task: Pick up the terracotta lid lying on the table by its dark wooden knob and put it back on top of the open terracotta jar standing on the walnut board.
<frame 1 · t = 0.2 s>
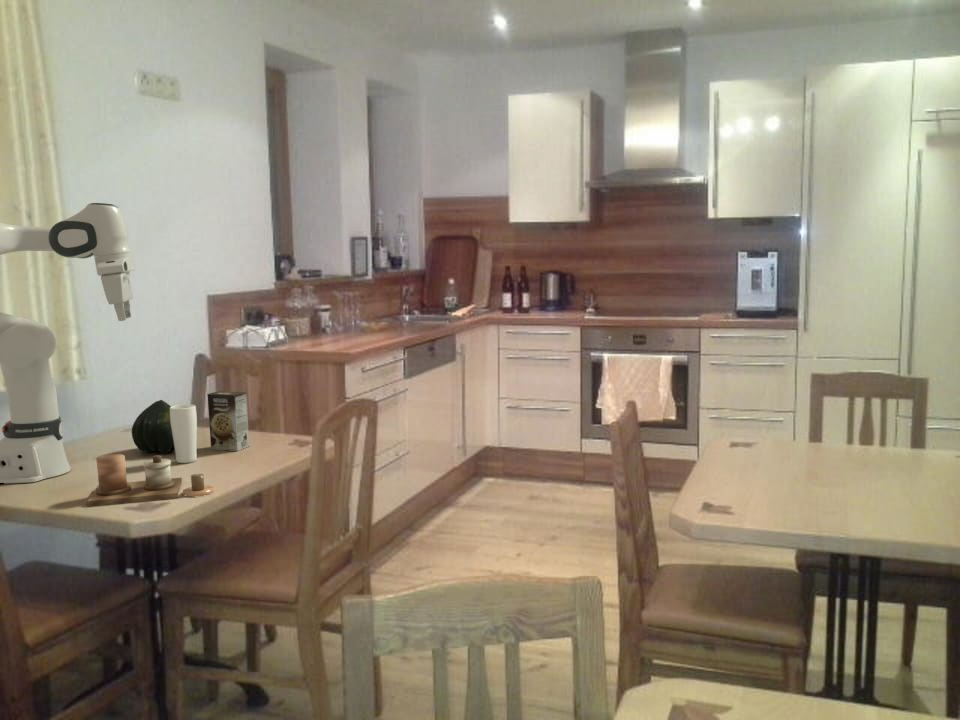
hand: (125, 319, 224), 39 cm above the table, tool pointing down, fingers open, 8 cm apart
drinking glass: (186, 462, 232), on the table
jar lid: (198, 493, 202), on the table
squash: (161, 451, 245), on the table
holder: (136, 493, 202), on the table
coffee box: (230, 448, 246), on the table
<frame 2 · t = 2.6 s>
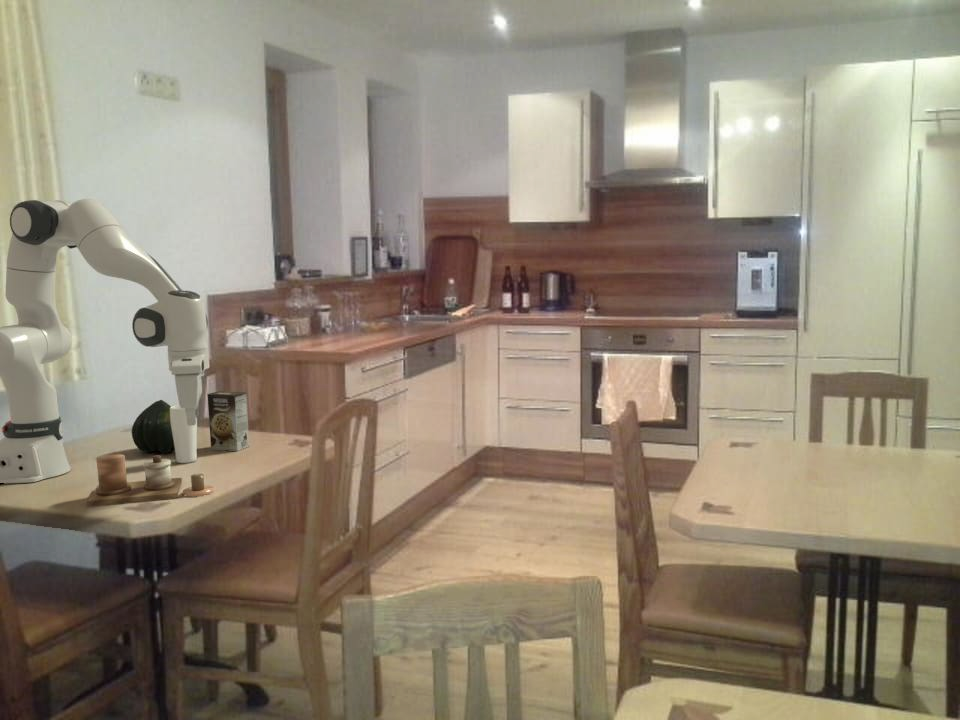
hand: (193, 421, 199), 17 cm above the table, tool pointing down, fingers open, 8 cm apart
nothing on the table moved.
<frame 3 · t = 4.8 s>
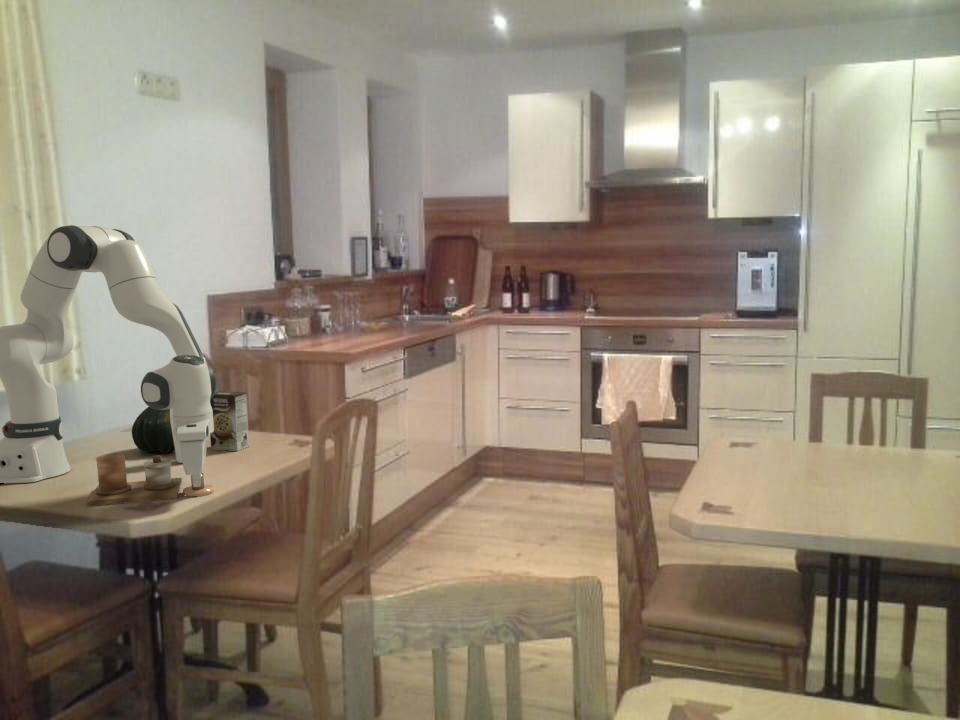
hand: (197, 483, 201), 2 cm above the table, tool pointing down, fingers closed on jar lid, 3 cm apart
jar lid: (198, 492, 202), on the table, touching gripper
everything else where it was.
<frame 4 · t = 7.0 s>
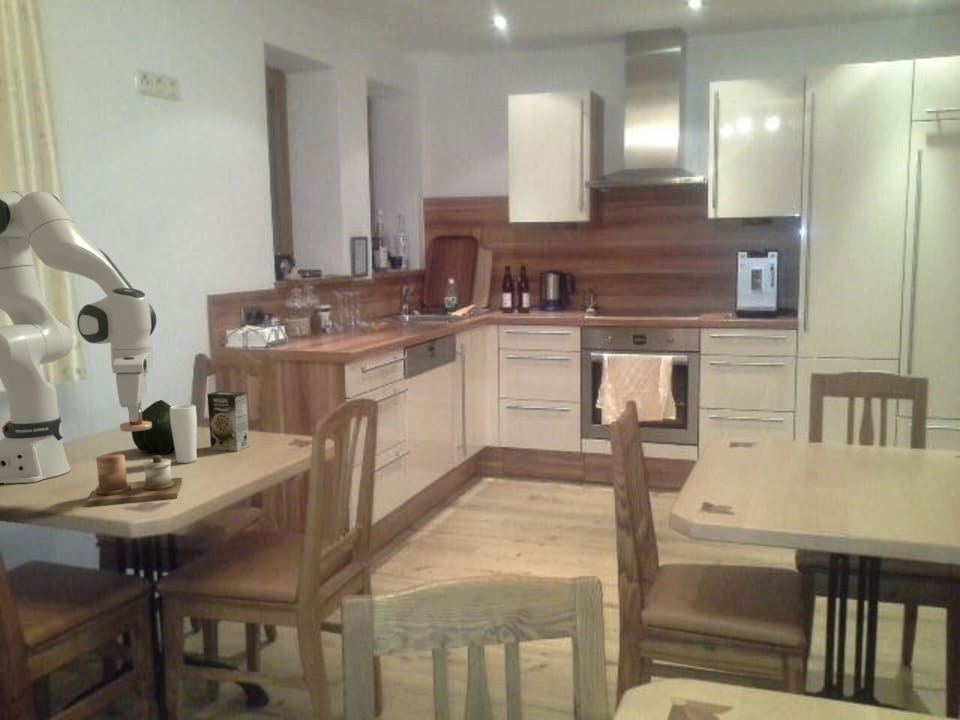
hand: (135, 419, 199), 18 cm above the table, tool pointing down, fingers closed on jar lid, 3 cm apart
jar lid: (136, 428, 199), point 16 cm above the table, touching gripper
everything else where it was.
when the fingers open (13 cm above the table, at t = 8.9 s): jar lid drops 1 cm, resting on holder.
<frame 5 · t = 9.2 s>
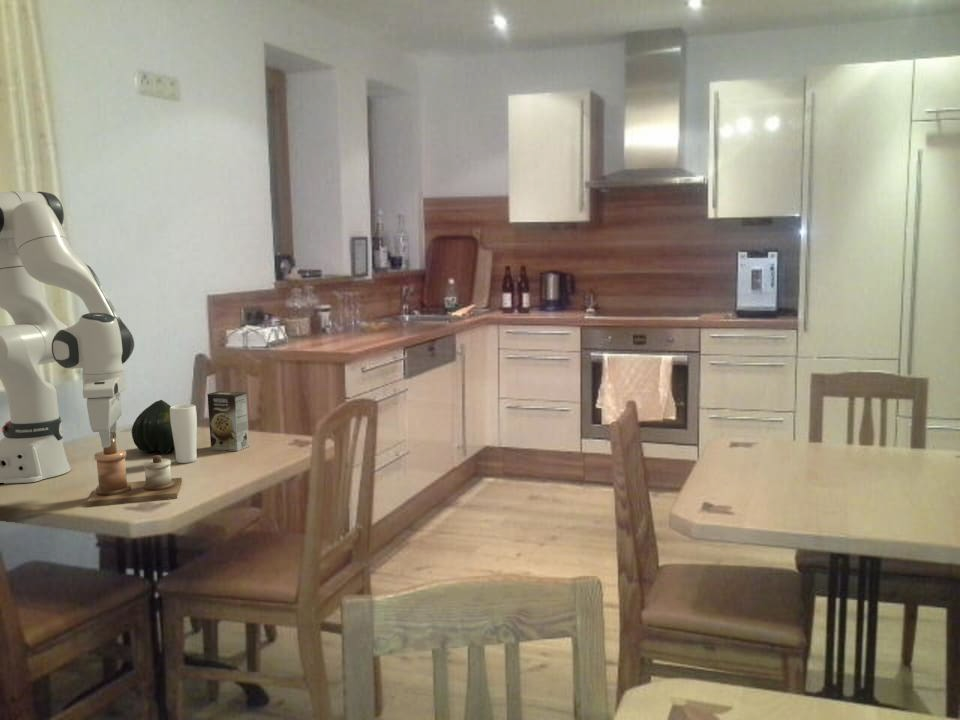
hand: (109, 443, 199), 12 cm above the table, tool pointing down, fingers open, 6 cm apart
jar lid: (110, 457, 200), point 9 cm above the table, touching holder
everything else where it was.
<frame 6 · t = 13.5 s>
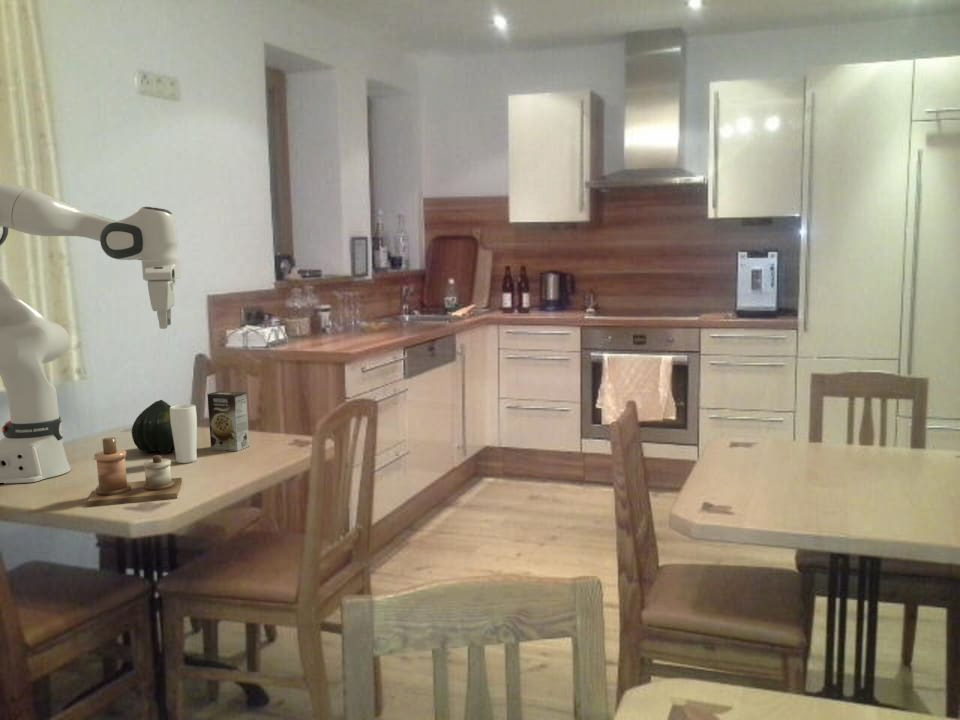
hand: (165, 326, 219), 37 cm above the table, tool pointing down, fingers open, 8 cm apart
nothing on the table moved.
at the end: jar lid 0.0 cm from the target spot on the holder, point 9.2 cm above the holder's base; jar lid tilted 0°; the gripper is holding nothing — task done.
